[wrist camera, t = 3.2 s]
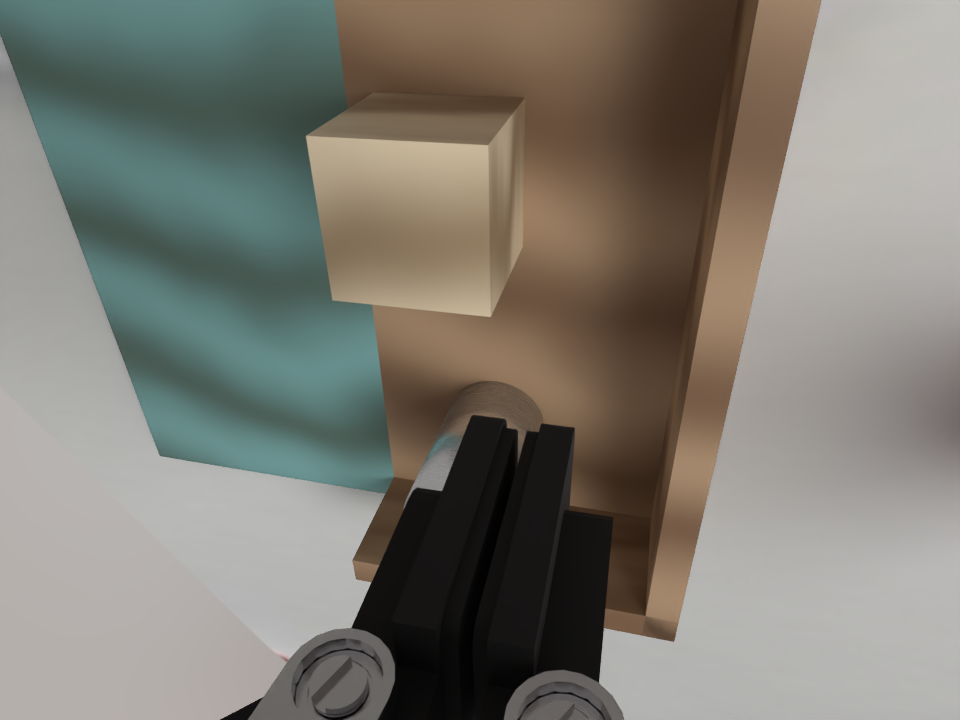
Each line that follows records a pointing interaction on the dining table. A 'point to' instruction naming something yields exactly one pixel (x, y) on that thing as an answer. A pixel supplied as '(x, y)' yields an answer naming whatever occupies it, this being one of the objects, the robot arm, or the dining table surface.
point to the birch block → (421, 199)
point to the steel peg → (468, 402)
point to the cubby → (412, 332)
